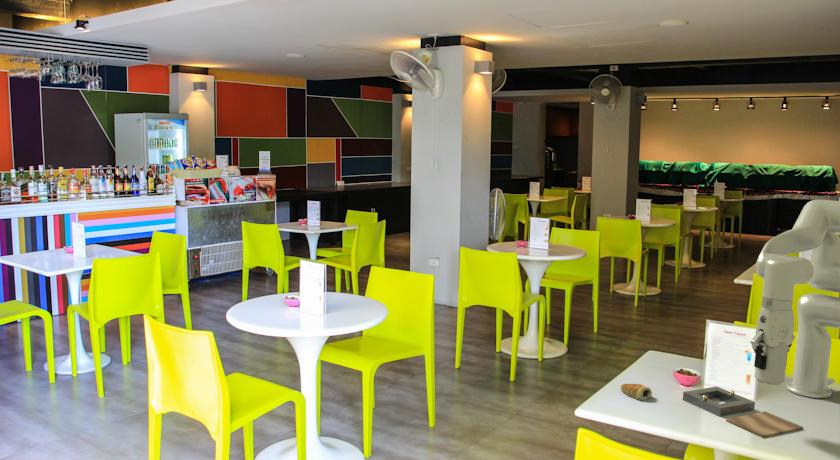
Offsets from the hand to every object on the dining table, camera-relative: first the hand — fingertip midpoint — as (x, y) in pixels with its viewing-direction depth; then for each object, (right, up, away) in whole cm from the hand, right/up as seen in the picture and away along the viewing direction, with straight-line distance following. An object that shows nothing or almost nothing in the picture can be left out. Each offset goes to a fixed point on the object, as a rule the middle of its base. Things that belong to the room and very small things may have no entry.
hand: (770, 366), depth 198 cm
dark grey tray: (-8, -15, +16) cm, 23 cm away
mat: (-1, -17, +2) cm, 17 cm away
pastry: (-30, -13, +22) cm, 40 cm away
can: (0, -4, +1) cm, 4 cm away
